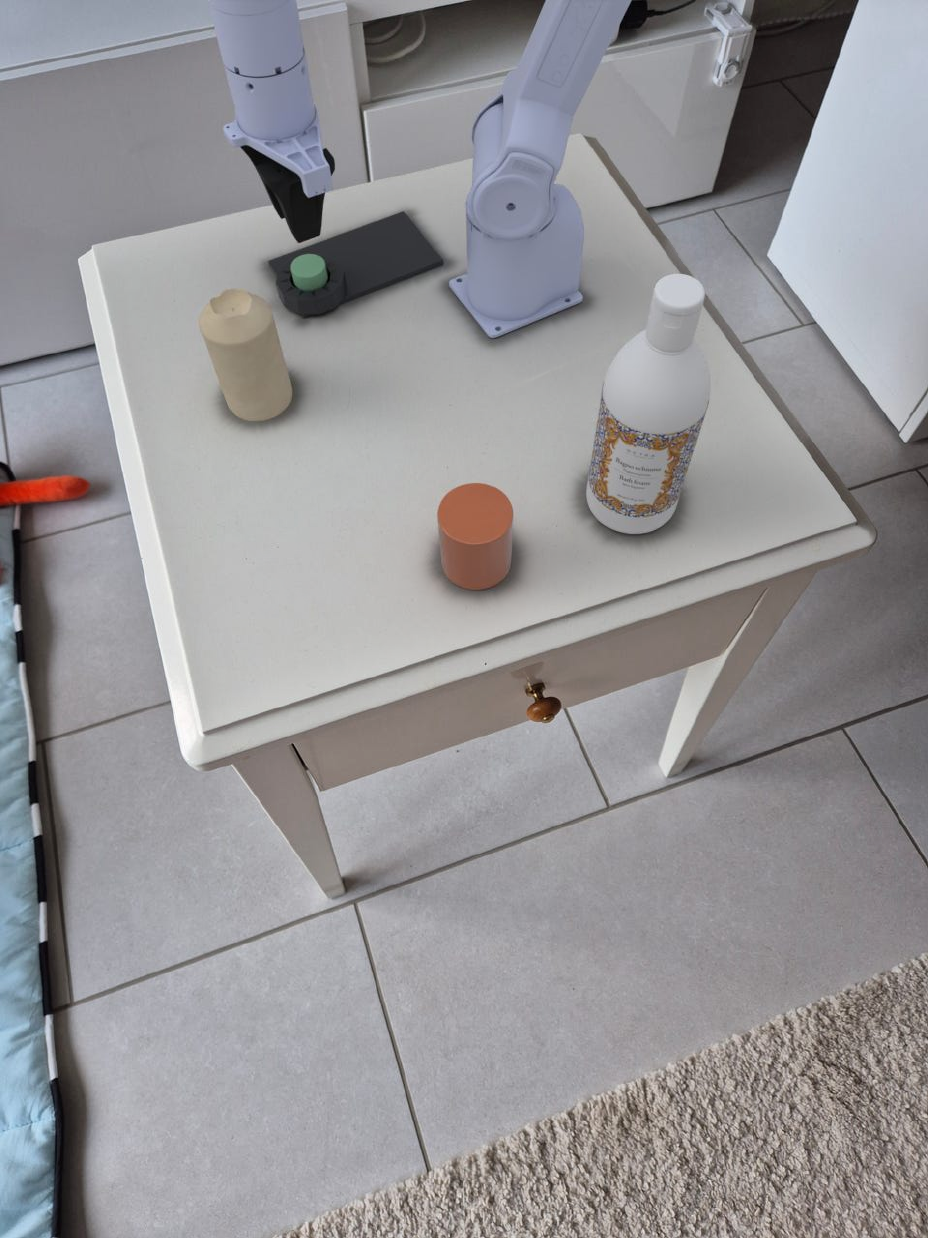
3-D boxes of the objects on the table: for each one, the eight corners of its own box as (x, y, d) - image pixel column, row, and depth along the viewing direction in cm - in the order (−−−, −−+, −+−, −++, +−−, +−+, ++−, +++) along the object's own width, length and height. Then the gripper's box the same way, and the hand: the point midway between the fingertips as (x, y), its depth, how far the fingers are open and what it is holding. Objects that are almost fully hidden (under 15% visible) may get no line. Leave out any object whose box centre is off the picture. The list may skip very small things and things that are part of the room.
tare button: (319, 263, 80) (316, 249, 79) (333, 284, 79) (330, 269, 77) (288, 275, 79) (284, 260, 78) (301, 296, 78) (298, 281, 77)
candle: (282, 426, 73) (254, 332, 65) (218, 417, 74) (182, 323, 65) (301, 377, 76) (277, 280, 67) (239, 368, 77) (207, 272, 68)
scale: (404, 215, 86) (402, 195, 84) (447, 270, 82) (446, 249, 80) (259, 269, 83) (253, 249, 81) (297, 328, 79) (292, 308, 77)
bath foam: (575, 524, 68) (606, 318, 50) (596, 455, 71) (633, 239, 54) (666, 547, 67) (730, 343, 49) (683, 475, 70) (750, 261, 53)
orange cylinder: (489, 521, 68) (489, 471, 63) (524, 571, 66) (527, 524, 61) (428, 549, 67) (424, 501, 62) (462, 601, 65) (460, 556, 60)
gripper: (173, 21, 65) (222, 191, 77) (249, 126, 58) (289, 294, 70) (264, -6, 66) (298, 165, 78) (347, 93, 60) (370, 263, 72)
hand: (299, 224), depth 74 cm, fingers open, 3 cm apart
